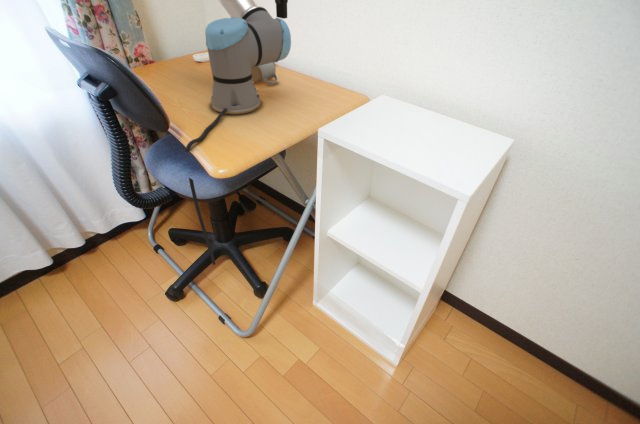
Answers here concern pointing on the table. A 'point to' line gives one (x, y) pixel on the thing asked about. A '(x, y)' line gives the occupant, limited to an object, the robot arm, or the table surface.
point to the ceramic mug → (264, 73)
